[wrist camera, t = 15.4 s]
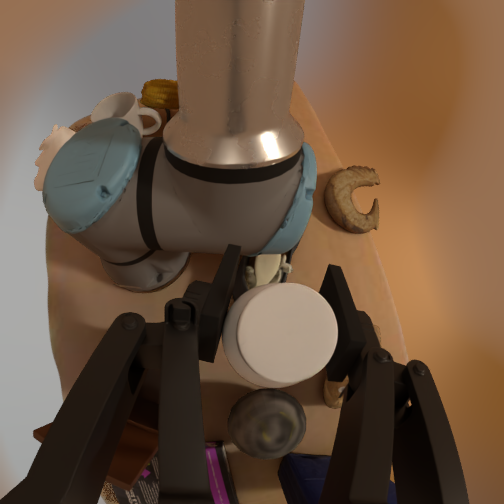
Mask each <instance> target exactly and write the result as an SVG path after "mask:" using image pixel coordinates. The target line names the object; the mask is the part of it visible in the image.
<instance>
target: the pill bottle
mask: <svg viewBox="0 0 504 504" xmlns="http://www.w3.org/2000/svg"><path fill="white" fill-rule="evenodd" d="M337 336H338V328H337V321H336V318H335V315H334V312H333V310H332V308H331V306H330V305H329V304H328V302H327V301H326V300H325V299H324V298H323V297H322V296H321V295H320V294H319V293H318V292H316V291H315V290H313V289H311V288H309V287H307V286H305V285H302V284H297V283H269V284H264V285H261V286H257V287H255V288H252V289H250V290H248V291H247V292H245V293H244V294H243V295H241V296H240V297H239V298H238V299H237V300H236V301H235V302H234V303H233V305H232V306H231V308H230V309H229V311H228V313H227V315H226V318H225V320H224V324H223V329H222V343H223V348H224V352H225V355H226V357H227V359H228V361H229V363H230V364H231V366H232V367H233V369H234V370H235V371H236V372H237V373H238V374H239V375H240V376H241V377H243V378H244V379H246V380H247V381H249V382H251V383H253V384H255V385H258V386H262V387H267V388H282V387H287V386H291V385H294V384H296V383H299V382H301V381H303V380H306V379H308V378H310V377H312V376H314V375H315V374H317V373H318V372H319V371H320V370H322V369H323V368H324V366H325V365H326V364H327V363H328V362H329V360H330V358H331V357H332V355H333V353H334V350H335V347H336V344H337Z"/></svg>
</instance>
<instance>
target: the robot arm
mask: <svg viewBox="0 0 504 504" xmlns="http://www.w3.org/2000/svg"><path fill="white" fill-rule="evenodd" d="M304 3H305V0H175V13H176V14H175V24H176V25H175V26H176V59H177V60H176V61H177V81H178V97H179V111H178V112H177V113H176V114H175V115H174V116H173V118H172V119H171V120H170V111H169V109H165V110H166V112H167V124H166V126H165V128H164V130H163V137H147V138H141V134H140V132H139V130H138V129H137V128H136V127H135V126H133V125H132V124H130V123H129V122H128V121H127V120H125V119H122V118H106V119H102V120H98V121H96V122H93V123H91V124H89V125H87V126H86V127H84V128H82V129H81V130H79V131H78V132H77V133H75V134H74V135H73V136H72V137H71V138H70V139H69V140H68V141H67V142H66V143H65V144H64V145H63V146H62V147H61V148H60V149H59V151H58V152H57V154H56V155H55V157H54V158H53V160H52V162H51V164H50V166H49V168H48V170H47V173H46V175H45V179H44V183H43V192H42V194H43V202H44V204H45V208H46V211H47V213H48V214H49V216H50V217H51V218H52V219H53V220H54V221H55V223H56V224H57V225H58V227H59V228H60V229H61V230H62V231H64V232H65V233H68V234H69V235H71V236H72V237H73V238H75V239H76V240H77V241H79V242H80V243H81V244H83V245H84V246H85V247H87V248H88V249H89V250H91V251H92V252H93V253H95V254H96V255H98V256H99V257H100V259H101V262H102V265H103V267H104V269H105V271H106V273H107V274H108V275H109V277H110V278H111V279H112V280H113V281H114V282H115V283H117V284H118V285H117V284H114V285H116V286H121V287H123V288H125V289H127V290H129V291H132V292H137V293H150V292H155V291H158V290H161V289H163V288H165V287H167V286H169V285H170V284H171V283H173V282H174V281H175V280H176V279H177V278H178V277H179V276H180V275H181V274H182V272H183V271H184V270H185V268H186V266H187V264H188V262H189V260H190V257H191V253H192V252H194V253H211V254H224V256H223V259H222V261H221V263H220V266H219V268H218V271H217V273H216V276H215V278H214V281H213V283H212V284H211V283H207V282H202V281H198V280H196V281H194V282H193V283H191V284H190V285H189V286H188V288H187V290H186V292H185V294H184V296H183V298H175V299H172V300H170V301H169V302H167V303H166V305H165V322H161V323H146V322H145V319H144V318H143V317H142V316H141V315H139V314H137V313H132V312H129V313H123V314H121V315H119V316H118V317H117V318H116V319H115V320H114V322H113V323H112V325H111V326H110V328H109V329H108V331H107V332H106V334H105V335H104V337H103V338H102V340H101V341H100V343H99V345H98V346H97V348H96V349H95V351H94V352H93V354H92V356H91V357H90V359H89V360H88V362H87V364H86V365H85V367H84V368H83V370H82V372H81V373H80V375H79V377H78V378H77V380H76V382H75V383H74V385H73V387H72V389H71V390H70V392H69V394H68V395H67V397H66V399H65V401H64V403H63V404H62V406H61V408H60V410H59V412H58V413H57V415H56V417H55V419H54V421H53V423H52V425H51V427H50V428H49V430H48V432H47V434H46V436H45V438H44V440H43V442H42V444H41V447H40V448H39V450H38V453H37V455H36V457H35V459H34V461H33V463H32V466H31V468H30V470H29V472H28V475H27V477H26V478H25V479H23V481H21V482H20V483H19V484H18V485H17V486H16V487H15V488H13V489H12V490H11V491H10V492H9V493H8V494H7V495H5V496H4V497H3V498H2V499H1V500H0V504H97V503H98V500H99V497H100V494H101V491H102V488H103V485H104V482H105V479H106V477H107V474H108V471H109V468H110V465H111V463H112V460H113V457H114V454H115V452H116V449H117V446H118V444H119V441H120V438H121V436H122V433H123V431H124V428H125V426H126V423H127V421H128V418H129V416H130V413H131V411H132V408H133V406H134V403H135V401H136V398H137V396H138V393H139V391H140V389H141V386H142V384H143V382H144V379H145V377H146V375H147V372H148V370H149V369H161V373H160V390H159V415H158V472H159V495H158V504H214V500H213V497H212V494H211V489H210V481H209V474H208V466H207V457H206V448H205V438H204V428H203V417H202V404H201V391H200V375H199V360H202V361H206V362H211V363H214V359H215V355H216V351H217V348H218V344H219V340H220V337H221V333H222V329H223V324H224V320H225V318H226V314H227V311H228V307H229V303H230V300H231V296H232V292H233V289H234V285H235V280H236V274H237V268H238V263H239V257H240V255H246V256H250V257H254V256H258V255H268V254H282V253H285V252H287V251H289V250H290V249H292V248H293V247H294V246H295V245H296V244H297V242H298V241H299V240H300V238H301V236H302V234H303V233H304V231H305V228H306V226H307V224H308V221H309V218H310V215H311V211H312V207H313V199H312V195H313V193H314V191H315V189H316V180H317V166H316V159H315V155H314V152H313V150H312V148H311V146H310V145H308V144H307V143H305V142H303V141H304V132H303V129H302V127H301V126H300V124H299V123H298V122H297V121H296V120H295V118H294V117H293V116H292V115H291V114H290V113H289V108H290V101H291V95H292V88H293V81H294V74H295V67H296V61H297V54H298V47H299V39H300V32H301V25H302V18H303V10H304ZM319 294H320V295H321V296H322V297H323V298H324V299H325V300H326V301H327V302H328V304H329V305H330V306H331V308H332V310H333V312H334V315H335V318H336V321H337V328H338V336H337V344H336V347H335V350H334V353H333V355H332V357H331V358H330V360H329V362H328V363H327V364H326V371H327V379H328V381H332V382H343V381H344V379H345V378H346V376H347V375H348V380H349V382H348V383H347V385H346V386H345V388H344V389H343V391H342V392H341V394H340V395H339V397H338V398H341V397H342V396H343V394H344V396H343V402H342V408H341V413H340V418H339V423H338V428H337V433H336V438H335V442H334V447H333V451H332V455H331V459H330V463H329V467H328V471H327V475H326V478H325V482H324V485H323V489H322V492H321V495H320V499H319V502H318V504H388V502H387V497H388V490H389V482H390V474H391V465H393V472H394V480H395V488H396V497H397V504H469V500H468V494H467V489H466V484H465V479H464V475H463V470H462V466H461V462H460V459H459V455H458V451H457V447H456V444H455V441H454V437H453V434H452V431H451V428H450V424H449V421H448V419H447V415H446V413H445V410H444V407H443V404H442V401H441V399H440V396H439V393H438V391H437V388H436V385H435V383H434V380H433V378H432V375H431V373H430V370H429V369H428V367H427V366H426V365H425V364H424V363H423V362H421V361H419V360H411V361H410V362H408V364H407V365H406V366H405V365H402V364H399V363H396V362H394V361H393V358H392V356H391V354H390V353H389V352H388V351H386V350H385V349H383V348H381V346H380V343H379V340H378V337H377V335H376V332H375V329H374V327H373V324H372V321H371V319H370V317H369V316H368V315H367V314H366V313H365V312H364V311H358V310H356V307H355V304H354V302H353V299H352V296H351V293H350V290H349V288H348V285H347V282H346V280H345V277H344V274H343V272H342V269H341V267H340V266H335V265H331V264H329V265H328V268H327V271H326V274H325V277H324V280H323V283H322V285H321V288H320V291H319ZM409 400H410V401H411V404H412V405H411V406H409V404H408V401H409Z"/></svg>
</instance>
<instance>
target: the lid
mask: <svg viewBox="0 0 504 504" xmlns="http://www.w3.org/2000/svg"><path fill="white" fill-rule="evenodd" d="M52 423H53V422H52ZM52 423H49V424H47V425H45V426H43V427H40V428H38V429H36V430H34V431H33V436H34V438H35V439H36V440H38V441H39V442H41V443H42V442H43V440H44V438H45V436H46V434H47V432H48V430H49V428H50V427H51V425H52ZM157 451H158V435H156V434H153V433H150V432H148V431H145V430H142V429H140V428H137V427H135V426H132V425H130V424H128V423H126V426H125V428H124V431H123V433H122V436H121V438H120V441H119V444H118V446H117V449H116V452H115V454H114V457H113V460H112V463H111V465H110V468H109V471H108V474H107V477H106V479H105V481H106V482H109V483H111V484H113V485H115V486H117V487H119V488H122V489H124V490H126V491H130V490H131V489H132V487H133V486H134V484H135V483H136V481H137V480H138V479H139V477H140V476H141V474H142V473H143V471H144V470H145V468H146V467H147V465H148V464H149V463H150V461H151V460H152V458H153V457H154V455H155V454H156V452H157Z"/></svg>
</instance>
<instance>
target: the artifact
mask: <svg viewBox="0 0 504 504" xmlns="http://www.w3.org/2000/svg"><path fill="white" fill-rule="evenodd" d="M374 184H376V185H379V184H380V180H379V177H378V174H377V172H376V170H375V169H373V168H371V169H370V168H368V167H362V166H352V167H348V168H347V169H344V170H340V171H338V172H337V173H336V174H334V175H333V176H332V177H331V178H330V180H329V182H328V184H327V186H326V189H325V203H326V207H327V209H328V212H329V213H330V215H331V217H332V218H333V219H334V221H335V222H336V223H337V224H338V225H340V226H341V227H343V228H344V229H346V230H348V231H350V232H353V233H366V232H369V231H370V230H372V229H375V230H378V227H379V205H378V200H377V199H374V202H373V206H372V209H371V211H370V212H369V213H368V214H361V213H359V212H358V211H357V210H356V209H355V207H354V205H353V203H352V200H351V193H352V191H353V190H354V189H356V188H357V187H361V186H373V185H374Z"/></svg>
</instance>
